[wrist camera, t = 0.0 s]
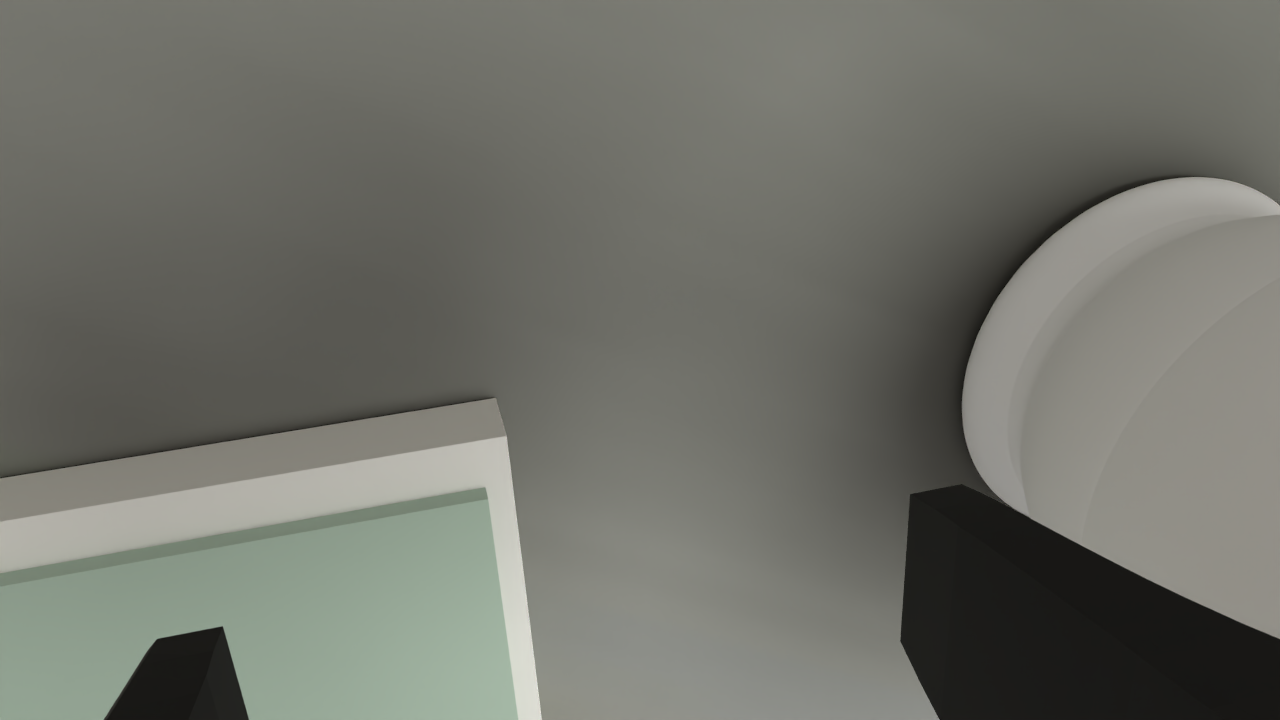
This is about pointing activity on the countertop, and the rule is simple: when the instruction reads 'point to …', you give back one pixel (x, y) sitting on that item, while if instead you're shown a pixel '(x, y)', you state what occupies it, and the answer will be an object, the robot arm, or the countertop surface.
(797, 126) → the countertop surface
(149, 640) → the pad
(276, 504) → the mount board
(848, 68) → the countertop surface
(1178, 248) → the jar
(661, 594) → the countertop surface
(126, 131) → the countertop surface
